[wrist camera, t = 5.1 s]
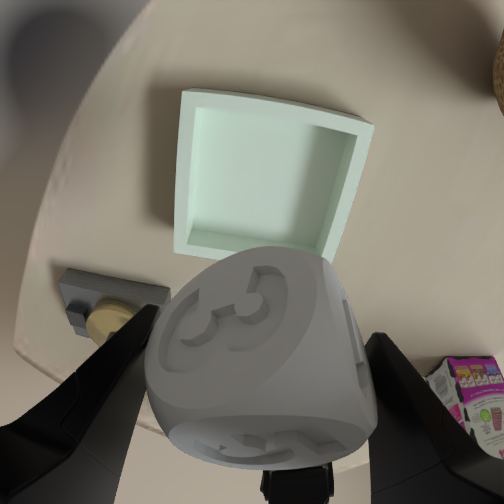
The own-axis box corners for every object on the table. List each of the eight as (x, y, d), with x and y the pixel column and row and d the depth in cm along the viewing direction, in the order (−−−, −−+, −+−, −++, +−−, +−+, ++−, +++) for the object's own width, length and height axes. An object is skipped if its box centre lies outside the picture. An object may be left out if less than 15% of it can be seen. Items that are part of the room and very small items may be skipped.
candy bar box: (422, 379, 32) (450, 493, 18) (445, 355, 29) (483, 477, 15) (474, 377, 33) (504, 470, 19) (495, 355, 30) (532, 453, 16)
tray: (361, 117, 16) (375, 125, 14) (322, 253, 22) (327, 275, 20) (193, 87, 16) (182, 91, 13) (182, 232, 21) (173, 252, 19)
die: (360, 324, 11) (385, 451, 7) (243, 361, 12) (234, 475, 8) (309, 217, 8) (340, 386, 4) (166, 281, 10) (119, 420, 6)
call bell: (170, 288, 24) (155, 328, 21) (172, 340, 28) (162, 377, 25) (68, 268, 24) (44, 300, 20) (83, 320, 28) (67, 352, 24)
